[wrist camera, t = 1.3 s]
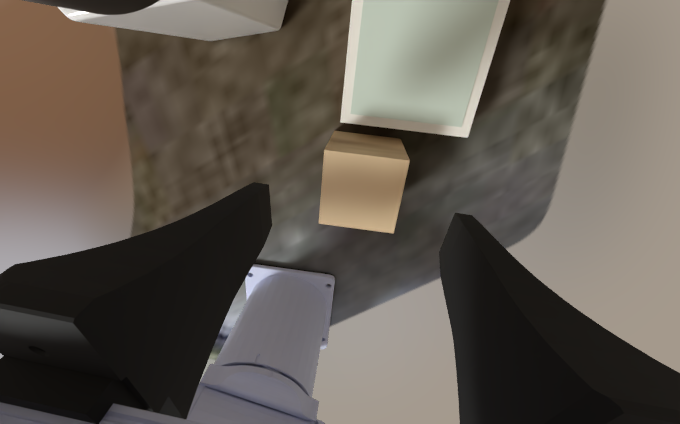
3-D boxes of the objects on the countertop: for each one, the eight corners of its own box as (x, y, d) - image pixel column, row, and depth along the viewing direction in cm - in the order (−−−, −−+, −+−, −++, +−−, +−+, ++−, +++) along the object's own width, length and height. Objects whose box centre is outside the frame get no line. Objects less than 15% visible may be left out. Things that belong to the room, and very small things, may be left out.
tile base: (457, 130, 18) (467, 138, 16) (343, 116, 19) (340, 122, 17) (498, -14, 15) (518, -26, 13) (358, -29, 15) (356, -43, 13)
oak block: (388, 198, 21) (393, 233, 17) (329, 190, 21) (318, 223, 17) (400, 138, 19) (409, 160, 15) (334, 130, 19) (324, 150, 15)
